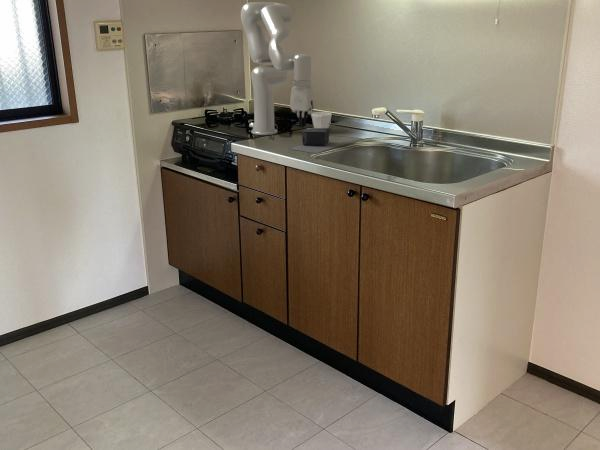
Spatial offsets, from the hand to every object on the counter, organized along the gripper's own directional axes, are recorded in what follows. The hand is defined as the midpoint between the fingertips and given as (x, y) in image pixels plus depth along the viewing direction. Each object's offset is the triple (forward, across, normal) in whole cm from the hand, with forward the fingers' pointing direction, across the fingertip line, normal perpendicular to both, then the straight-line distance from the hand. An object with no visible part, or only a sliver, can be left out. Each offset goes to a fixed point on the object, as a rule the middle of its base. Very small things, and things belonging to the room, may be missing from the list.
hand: (302, 126), depth 275 cm
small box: (+5, 0, +1) cm, 5 cm away
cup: (+8, -10, +28) cm, 31 cm away
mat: (+8, +8, 0) cm, 12 cm away
